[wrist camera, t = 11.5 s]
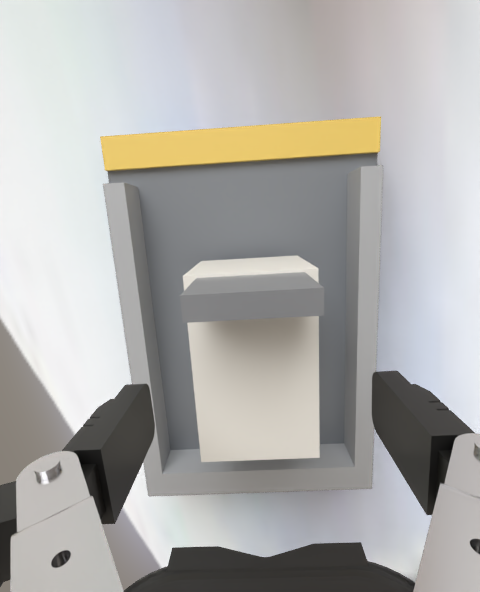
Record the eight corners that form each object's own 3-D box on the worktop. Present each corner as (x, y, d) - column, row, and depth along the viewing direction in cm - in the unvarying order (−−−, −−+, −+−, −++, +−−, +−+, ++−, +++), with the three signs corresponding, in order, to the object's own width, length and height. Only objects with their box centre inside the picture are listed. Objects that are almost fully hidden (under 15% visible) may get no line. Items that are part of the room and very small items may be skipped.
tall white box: (294, 253, 18) (342, 282, 9) (297, 386, 19) (339, 522, 11) (203, 258, 18) (161, 292, 9) (214, 390, 19) (188, 527, 11)
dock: (124, 151, 19) (83, 126, 15) (358, 134, 19) (396, 103, 14) (161, 440, 24) (139, 496, 19) (352, 433, 23) (380, 488, 18)
